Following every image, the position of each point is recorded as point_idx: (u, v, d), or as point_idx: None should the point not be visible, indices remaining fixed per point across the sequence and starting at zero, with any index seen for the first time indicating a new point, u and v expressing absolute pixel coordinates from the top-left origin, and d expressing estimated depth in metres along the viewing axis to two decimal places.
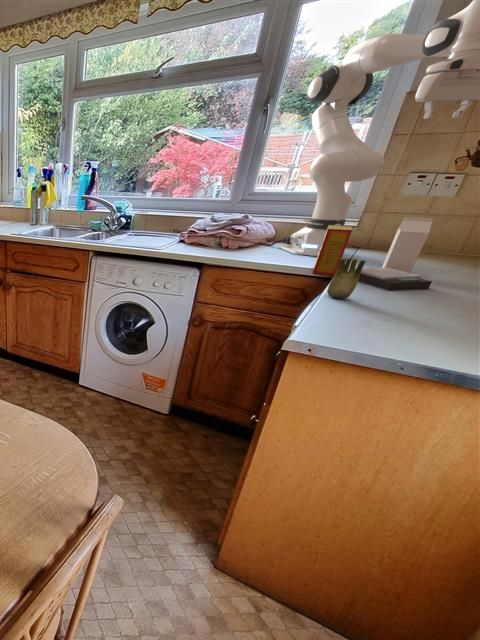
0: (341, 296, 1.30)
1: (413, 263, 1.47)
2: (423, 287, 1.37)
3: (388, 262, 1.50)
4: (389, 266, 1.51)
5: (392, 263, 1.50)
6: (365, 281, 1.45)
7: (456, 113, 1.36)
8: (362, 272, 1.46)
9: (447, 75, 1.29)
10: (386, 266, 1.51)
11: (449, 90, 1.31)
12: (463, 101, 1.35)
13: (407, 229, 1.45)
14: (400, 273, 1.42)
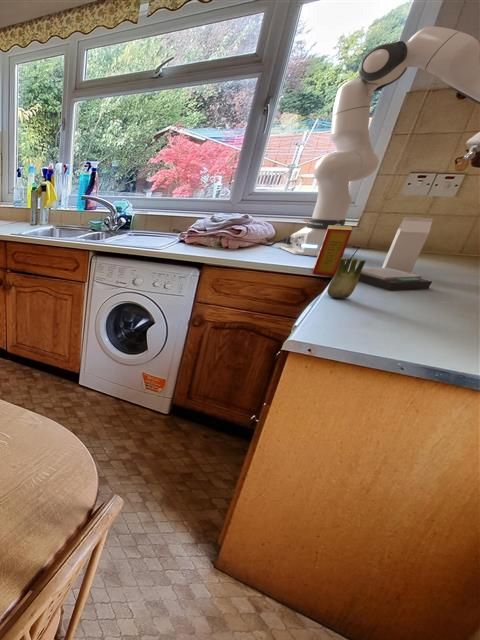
0: (341, 296, 1.30)
1: (413, 263, 1.47)
2: (423, 287, 1.37)
3: (388, 262, 1.50)
4: (389, 266, 1.51)
5: (392, 263, 1.50)
6: (365, 281, 1.45)
7: (472, 155, 1.40)
8: (362, 272, 1.46)
9: None
10: (386, 266, 1.51)
11: None
12: (478, 146, 1.39)
13: (407, 229, 1.45)
14: (400, 273, 1.42)
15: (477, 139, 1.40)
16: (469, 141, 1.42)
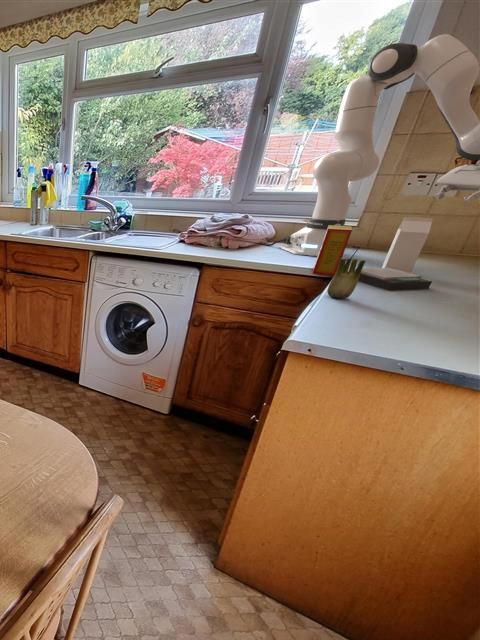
0: (341, 296, 1.30)
1: (413, 263, 1.47)
2: (423, 287, 1.37)
3: (388, 262, 1.50)
4: (389, 266, 1.51)
5: (392, 263, 1.50)
6: (365, 281, 1.45)
7: (442, 195, 1.45)
8: (362, 272, 1.46)
9: None
10: (386, 266, 1.51)
11: None
12: (448, 186, 1.45)
13: (407, 229, 1.45)
14: (400, 273, 1.42)
15: (448, 179, 1.45)
16: (439, 180, 1.47)
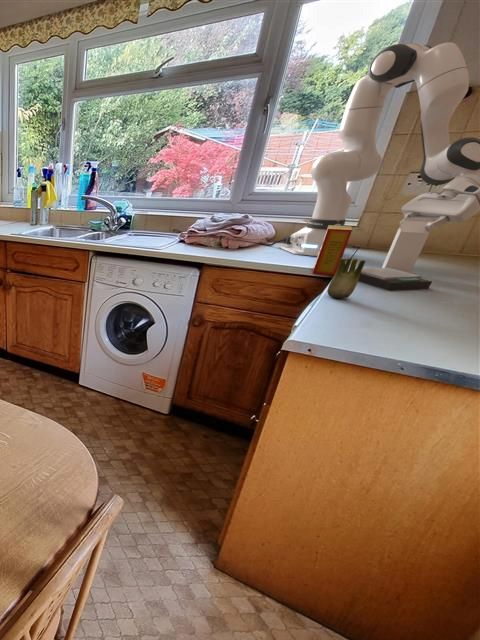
0: (341, 296, 1.30)
1: (413, 263, 1.47)
2: (423, 287, 1.37)
3: (388, 262, 1.50)
4: (389, 266, 1.51)
5: (392, 263, 1.50)
6: (365, 281, 1.45)
7: None
8: (362, 272, 1.46)
9: None
10: (386, 266, 1.51)
11: None
12: (412, 213, 1.48)
13: (407, 229, 1.45)
14: (400, 273, 1.42)
15: (411, 207, 1.49)
16: (404, 207, 1.51)
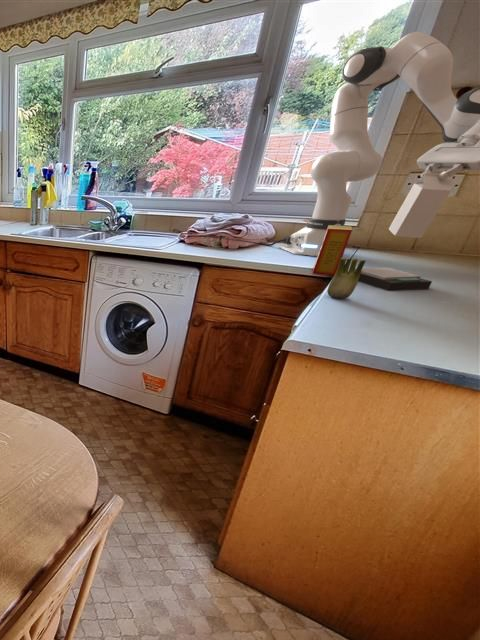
0: (341, 296, 1.30)
1: (429, 223, 1.39)
2: (423, 287, 1.37)
3: (404, 222, 1.41)
4: (404, 226, 1.42)
5: (408, 223, 1.41)
6: (365, 281, 1.45)
7: None
8: (362, 272, 1.46)
9: None
10: (401, 226, 1.42)
11: None
12: (434, 165, 1.37)
13: (429, 186, 1.34)
14: (400, 273, 1.42)
15: (428, 158, 1.39)
16: (420, 159, 1.41)
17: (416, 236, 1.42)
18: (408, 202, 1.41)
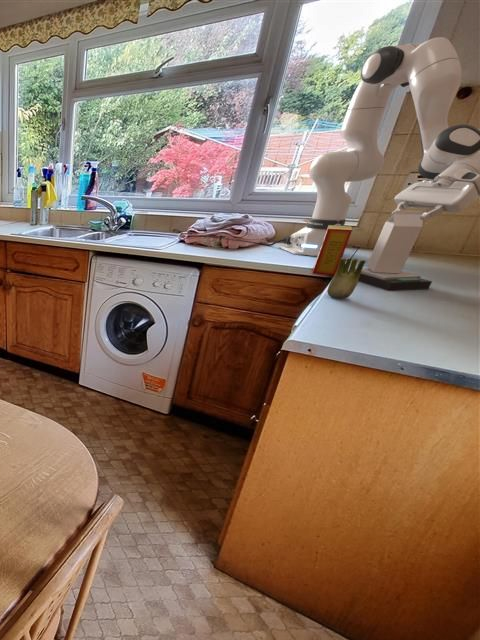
0: (341, 296, 1.30)
1: (405, 259, 1.39)
2: (423, 287, 1.37)
3: (380, 258, 1.41)
4: (381, 263, 1.42)
5: (384, 259, 1.41)
6: (365, 281, 1.45)
7: None
8: (362, 272, 1.46)
9: None
10: (378, 263, 1.42)
11: None
12: (405, 203, 1.39)
13: (400, 223, 1.36)
14: (400, 273, 1.42)
15: (405, 196, 1.39)
16: (397, 197, 1.41)
17: (394, 272, 1.42)
18: (382, 239, 1.42)
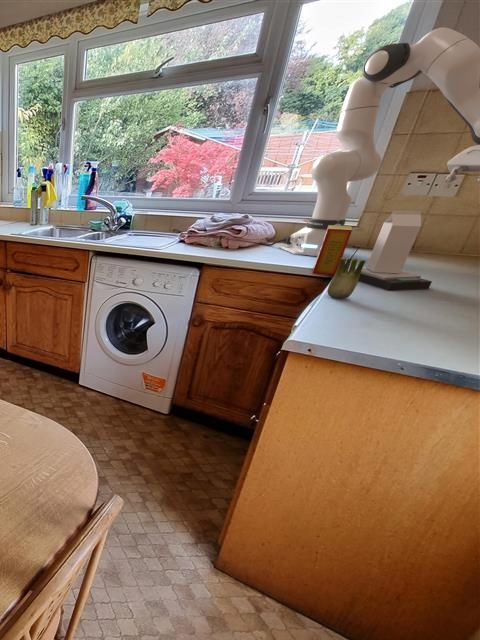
0: (341, 296, 1.30)
1: (405, 258, 1.39)
2: (423, 287, 1.37)
3: (380, 258, 1.42)
4: (381, 262, 1.42)
5: (384, 259, 1.41)
6: (365, 281, 1.45)
7: (453, 177, 1.35)
8: (362, 272, 1.46)
9: None
10: (378, 263, 1.42)
11: None
12: (460, 168, 1.34)
13: (399, 223, 1.37)
14: (400, 273, 1.42)
15: (459, 160, 1.34)
16: (450, 162, 1.37)
17: (394, 272, 1.42)
18: (381, 239, 1.42)
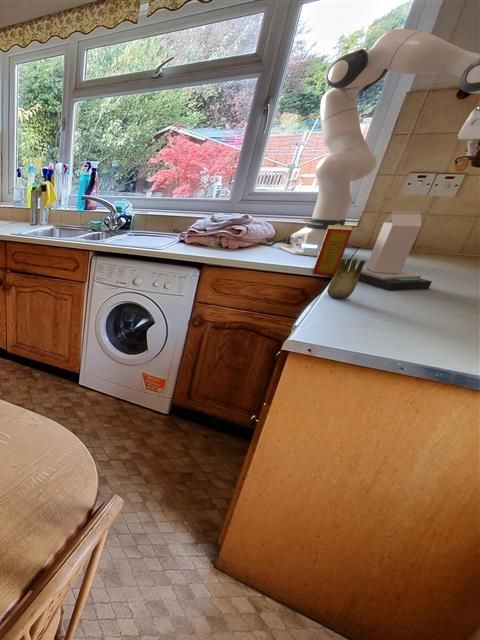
0: (341, 296, 1.30)
1: (405, 258, 1.39)
2: (423, 287, 1.37)
3: (380, 258, 1.42)
4: (381, 262, 1.42)
5: (384, 259, 1.41)
6: (365, 281, 1.45)
7: (474, 151, 1.36)
8: (362, 272, 1.46)
9: None
10: (378, 263, 1.42)
11: None
12: (474, 140, 1.36)
13: (399, 223, 1.37)
14: (400, 273, 1.42)
15: (468, 135, 1.36)
16: (460, 137, 1.38)
17: (394, 272, 1.42)
18: (381, 239, 1.42)
